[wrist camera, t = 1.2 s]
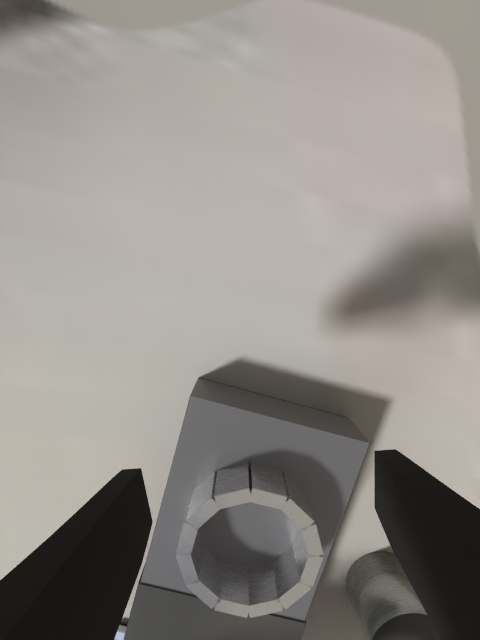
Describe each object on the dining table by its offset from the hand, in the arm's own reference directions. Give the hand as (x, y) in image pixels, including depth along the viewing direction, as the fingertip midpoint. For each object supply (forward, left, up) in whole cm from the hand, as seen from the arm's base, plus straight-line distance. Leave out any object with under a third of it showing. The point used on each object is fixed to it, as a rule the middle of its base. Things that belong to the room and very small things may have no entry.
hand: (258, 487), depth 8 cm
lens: (-13, -14, -10) cm, 22 cm away
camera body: (-10, -2, -10) cm, 14 cm away
